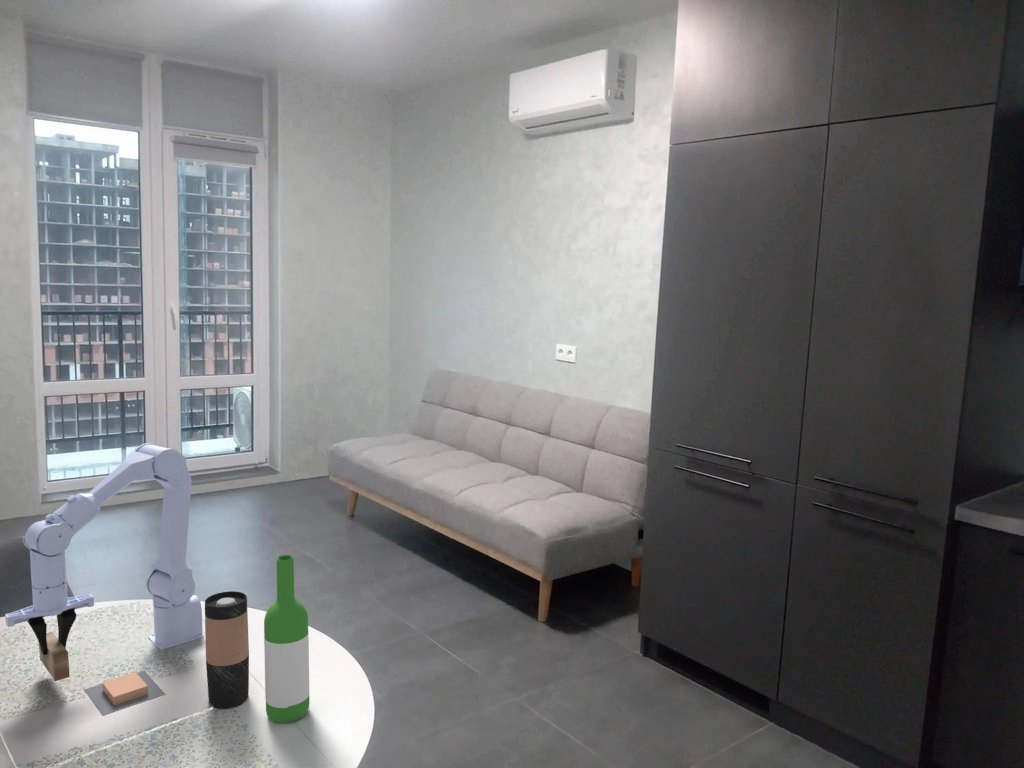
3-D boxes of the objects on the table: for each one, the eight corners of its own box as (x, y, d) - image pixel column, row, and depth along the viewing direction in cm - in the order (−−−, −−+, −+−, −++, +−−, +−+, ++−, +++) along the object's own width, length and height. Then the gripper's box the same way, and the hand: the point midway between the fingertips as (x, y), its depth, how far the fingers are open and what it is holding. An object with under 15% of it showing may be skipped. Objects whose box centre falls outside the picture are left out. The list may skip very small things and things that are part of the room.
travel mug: (258, 693, 146) (256, 594, 144) (231, 713, 139) (228, 610, 137) (226, 685, 149) (223, 588, 146) (198, 705, 142) (194, 603, 139)
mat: (144, 672, 153) (144, 670, 153) (165, 696, 145) (165, 694, 144) (84, 691, 146) (83, 689, 146) (102, 717, 137) (102, 715, 137)
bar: (39, 659, 151) (38, 635, 150) (53, 655, 152) (52, 631, 152) (55, 681, 142) (53, 655, 141) (69, 677, 144) (68, 651, 143)
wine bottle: (315, 717, 138) (313, 560, 134) (272, 730, 134) (268, 568, 130) (302, 698, 145) (300, 547, 141) (261, 709, 141) (257, 554, 137)
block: (135, 672, 149) (147, 685, 144) (135, 680, 149) (148, 694, 144) (102, 682, 145) (113, 697, 140) (102, 691, 145) (114, 705, 140)
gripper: (9, 599, 137) (13, 670, 139) (97, 579, 147) (100, 646, 149) (1, 588, 142) (5, 656, 144) (86, 569, 152) (90, 633, 154)
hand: (53, 650), depth 147 cm, fingers closed on bar, 2 cm apart
